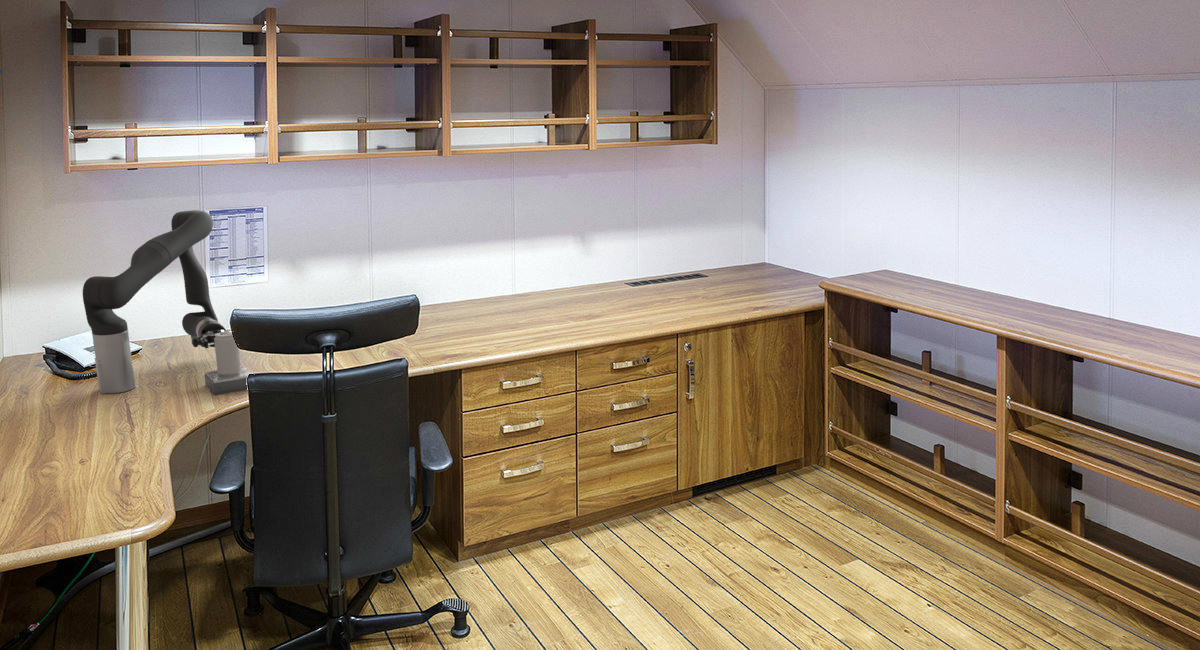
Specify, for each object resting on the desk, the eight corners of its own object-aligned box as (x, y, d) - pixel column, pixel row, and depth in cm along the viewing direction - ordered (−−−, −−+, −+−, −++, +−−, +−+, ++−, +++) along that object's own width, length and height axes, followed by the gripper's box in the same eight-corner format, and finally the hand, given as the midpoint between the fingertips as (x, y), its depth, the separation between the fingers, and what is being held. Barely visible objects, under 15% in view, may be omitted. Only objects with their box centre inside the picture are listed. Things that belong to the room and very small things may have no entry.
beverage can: (233, 369, 281) (229, 329, 278) (245, 372, 277) (241, 332, 274) (213, 374, 276) (209, 334, 273) (225, 377, 272) (221, 337, 270)
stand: (214, 395, 269) (212, 381, 269) (205, 385, 279) (204, 372, 278) (257, 388, 276) (256, 374, 275) (247, 378, 286) (246, 365, 285)
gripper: (184, 323, 289) (195, 333, 275) (233, 317, 296) (246, 327, 283) (187, 347, 290) (198, 358, 277) (236, 340, 298) (248, 351, 285)
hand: (222, 342), depth 280 cm, fingers open, 8 cm apart
